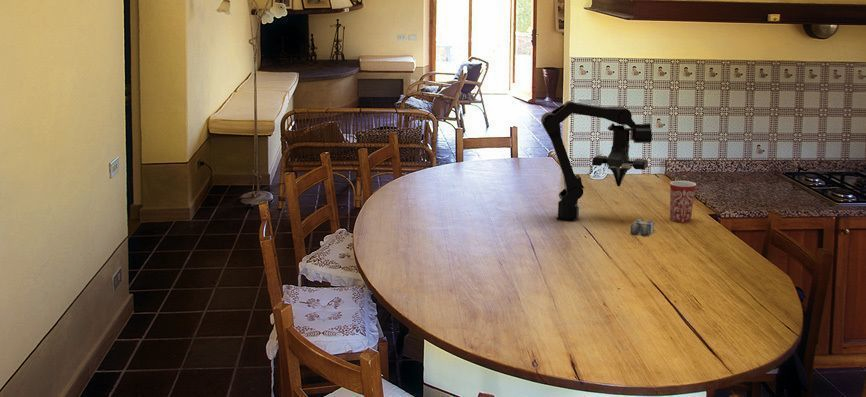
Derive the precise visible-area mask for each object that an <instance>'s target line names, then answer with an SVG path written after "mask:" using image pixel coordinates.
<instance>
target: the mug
mask: <svg viewBox="0 0 866 397" xmlns="http://www.w3.org/2000/svg"><path fill="white" fill-rule="evenodd" d="M669 186H670V187H669V188H670V190H669V191H670V192H669V193H670V194H669V195H670V196H669V198H670V199H669V200H670V201H669V220H670V221H672V222H675V223H689V222H691V221H692V214H693V206H694V201H695V194H696V192H695V191H696V186H697V183H696V182H693V181H689V180H672V181H670V182H669Z"/></svg>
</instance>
